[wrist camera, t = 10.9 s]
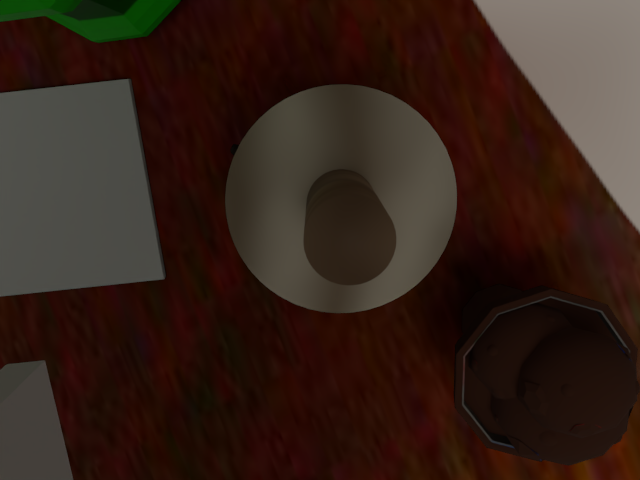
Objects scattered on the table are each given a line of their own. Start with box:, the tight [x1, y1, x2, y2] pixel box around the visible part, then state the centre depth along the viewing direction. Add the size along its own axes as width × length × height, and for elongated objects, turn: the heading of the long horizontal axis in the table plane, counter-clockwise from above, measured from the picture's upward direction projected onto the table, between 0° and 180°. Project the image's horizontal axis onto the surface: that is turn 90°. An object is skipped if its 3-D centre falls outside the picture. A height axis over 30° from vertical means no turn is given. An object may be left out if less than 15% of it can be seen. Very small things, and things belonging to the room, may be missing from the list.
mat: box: [0, 79, 166, 296], centre depth 41 cm, size 14×14×1 cm
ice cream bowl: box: [454, 284, 640, 465], centre depth 37 cm, size 11×11×15 cm
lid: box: [225, 84, 457, 313], centre depth 27 cm, size 12×12×9 cm
